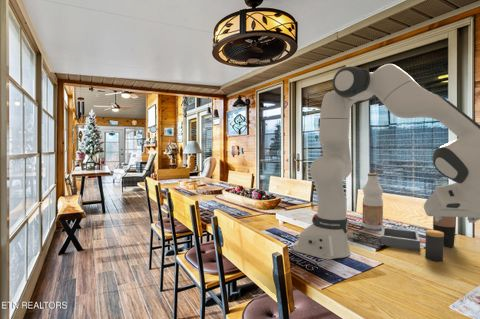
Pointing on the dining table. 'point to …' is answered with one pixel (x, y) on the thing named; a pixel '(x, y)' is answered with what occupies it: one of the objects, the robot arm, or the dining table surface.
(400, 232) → the open square box
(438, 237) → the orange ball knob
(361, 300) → the dining table surface
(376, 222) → the fruit juice
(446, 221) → the travel mug
